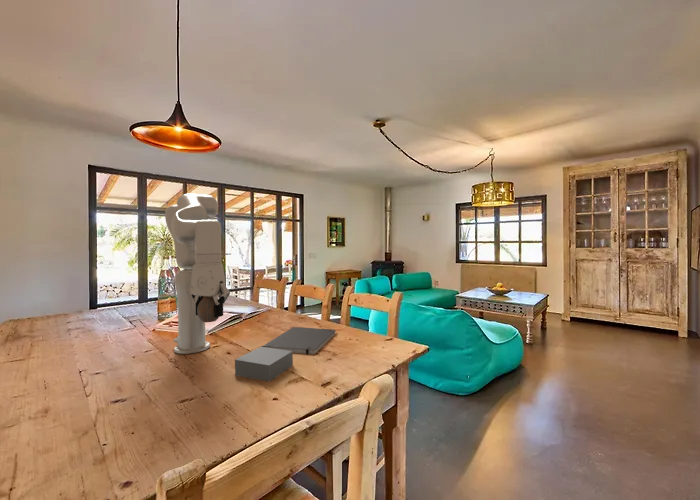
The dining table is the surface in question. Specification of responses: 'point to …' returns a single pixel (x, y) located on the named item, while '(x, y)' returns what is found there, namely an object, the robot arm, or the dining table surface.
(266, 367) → the slate block
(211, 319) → the vase
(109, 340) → the dining table surface
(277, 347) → the notebook
